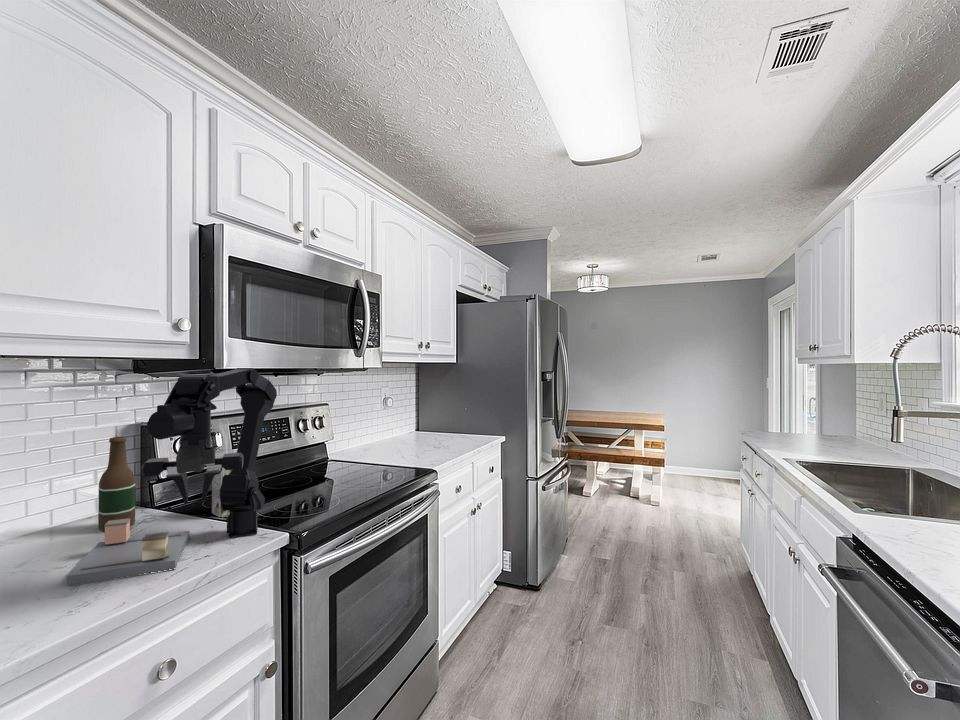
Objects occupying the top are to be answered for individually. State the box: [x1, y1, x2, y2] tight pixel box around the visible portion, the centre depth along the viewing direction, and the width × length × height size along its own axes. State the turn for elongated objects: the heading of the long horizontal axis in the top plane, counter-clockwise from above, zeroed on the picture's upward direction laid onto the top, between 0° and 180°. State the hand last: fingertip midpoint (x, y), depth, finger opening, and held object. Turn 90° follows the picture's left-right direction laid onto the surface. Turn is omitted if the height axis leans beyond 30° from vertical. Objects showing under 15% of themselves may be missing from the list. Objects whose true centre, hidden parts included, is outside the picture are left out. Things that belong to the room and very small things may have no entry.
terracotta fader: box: [104, 518, 131, 544], centre depth 107 cm, size 4×3×4 cm
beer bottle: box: [97, 435, 137, 532], centre depth 124 cm, size 8×8×24 cm
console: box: [66, 530, 191, 587], centre depth 103 cm, size 18×19×2 cm
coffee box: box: [211, 456, 232, 518], centre depth 137 cm, size 9×6×16 cm
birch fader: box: [142, 531, 169, 561], centre depth 99 cm, size 4×3×4 cm
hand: (194, 503), depth 102 cm, fingers open, 3 cm apart
